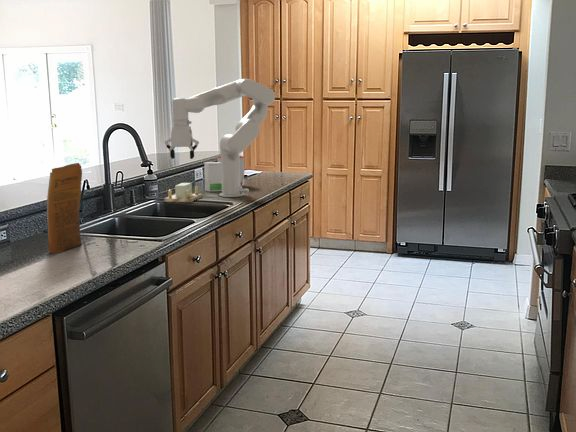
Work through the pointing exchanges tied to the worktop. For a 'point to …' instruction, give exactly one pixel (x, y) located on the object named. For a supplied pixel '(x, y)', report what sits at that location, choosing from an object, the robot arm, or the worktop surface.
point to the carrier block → (183, 189)
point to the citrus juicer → (240, 167)
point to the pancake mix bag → (64, 208)
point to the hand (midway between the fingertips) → (182, 158)
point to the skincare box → (213, 176)
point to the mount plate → (188, 198)
